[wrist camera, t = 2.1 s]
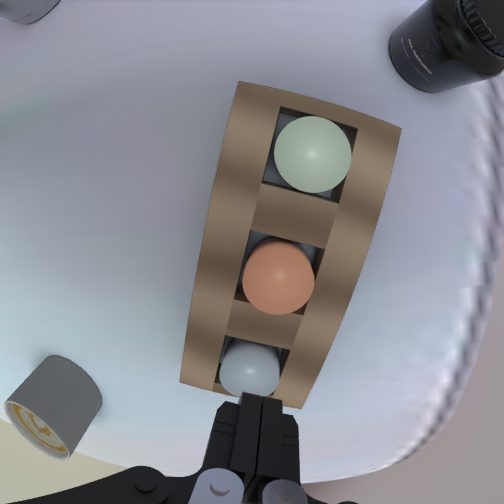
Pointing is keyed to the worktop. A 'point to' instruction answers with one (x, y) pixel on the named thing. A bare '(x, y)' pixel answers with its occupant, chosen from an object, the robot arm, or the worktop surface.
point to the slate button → (250, 368)
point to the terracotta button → (278, 276)
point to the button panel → (288, 227)
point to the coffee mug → (54, 406)
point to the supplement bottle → (450, 44)
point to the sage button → (312, 154)
